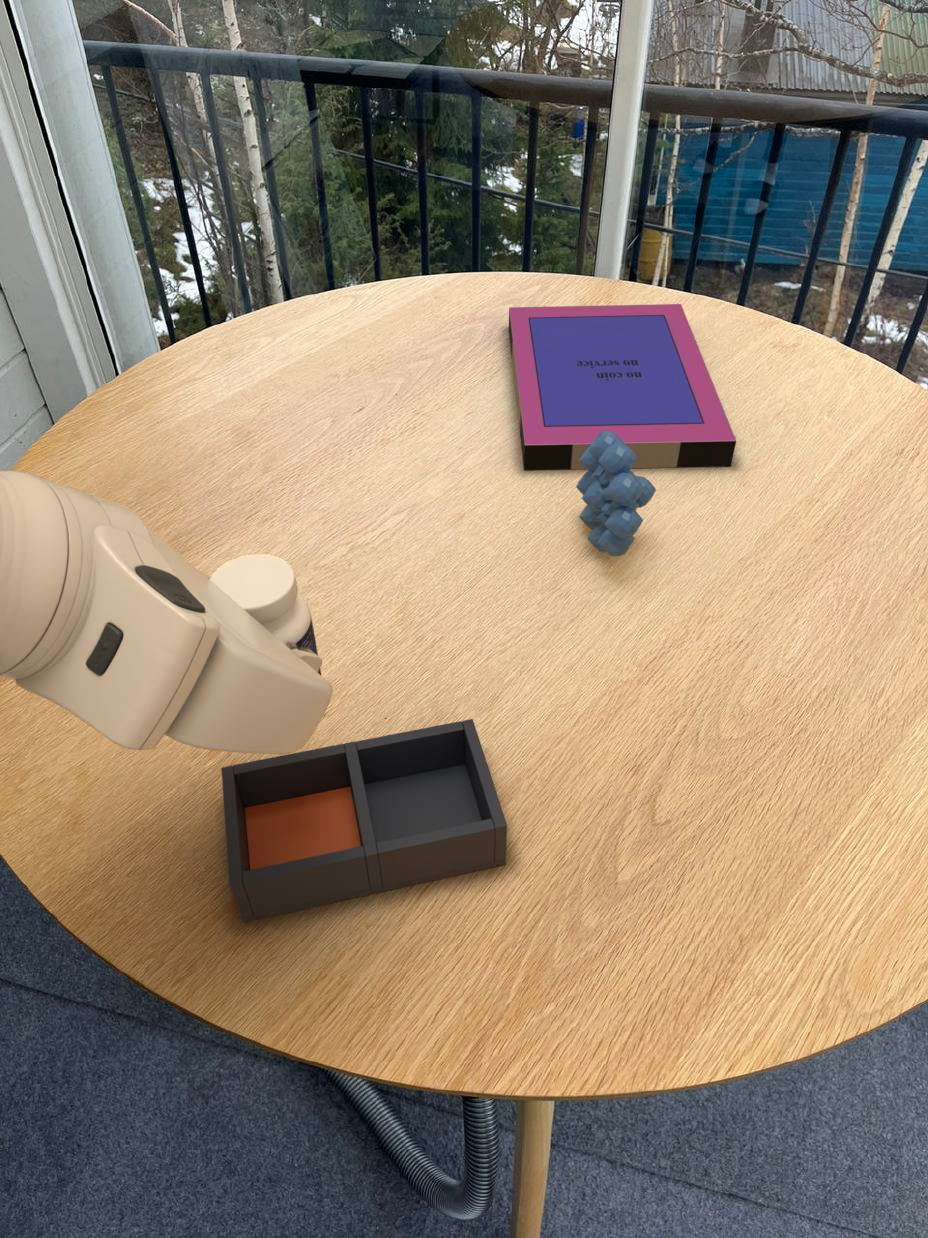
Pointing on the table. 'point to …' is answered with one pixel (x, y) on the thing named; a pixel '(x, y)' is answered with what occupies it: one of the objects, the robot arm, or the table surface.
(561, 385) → the book
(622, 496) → the grapes
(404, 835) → the tray
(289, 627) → the pill bottle
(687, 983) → the table surface
